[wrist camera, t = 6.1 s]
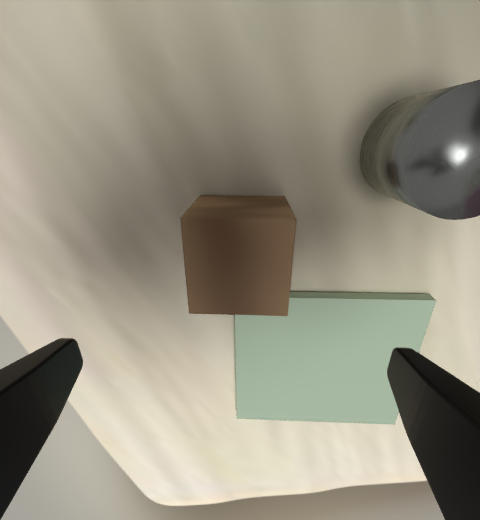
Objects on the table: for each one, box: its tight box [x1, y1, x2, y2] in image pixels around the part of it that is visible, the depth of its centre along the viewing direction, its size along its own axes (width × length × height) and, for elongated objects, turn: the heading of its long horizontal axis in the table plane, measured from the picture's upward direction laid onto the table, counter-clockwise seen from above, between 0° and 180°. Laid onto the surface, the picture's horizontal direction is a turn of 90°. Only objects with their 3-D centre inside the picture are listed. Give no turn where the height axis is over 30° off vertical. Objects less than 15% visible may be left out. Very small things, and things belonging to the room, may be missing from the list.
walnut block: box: [181, 195, 296, 316], centre depth 15 cm, size 5×5×5 cm
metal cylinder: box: [360, 80, 480, 220], centre depth 13 cm, size 5×5×5 cm
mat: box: [235, 292, 436, 424], centre depth 21 cm, size 13×12×1 cm
